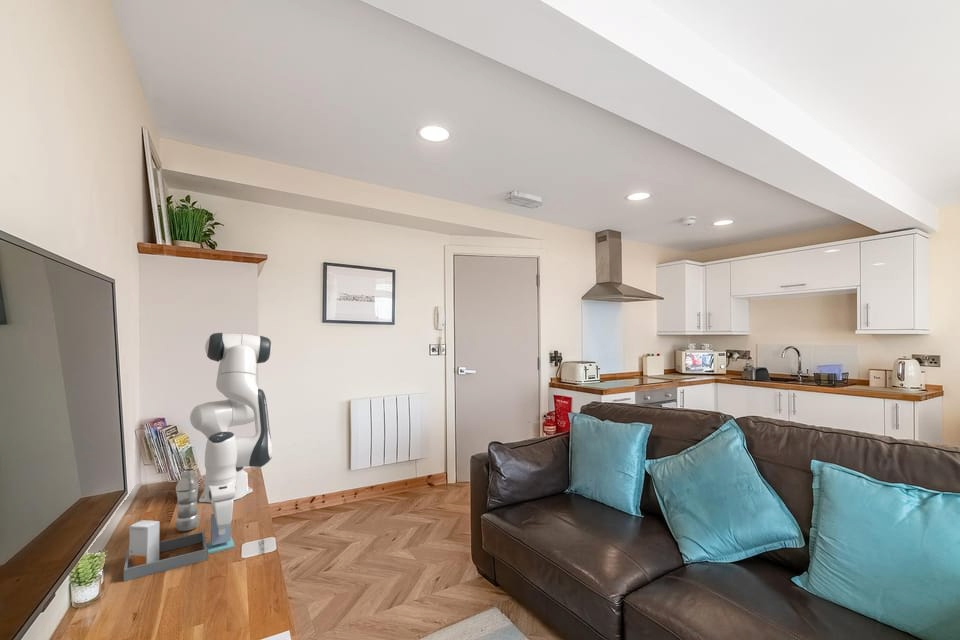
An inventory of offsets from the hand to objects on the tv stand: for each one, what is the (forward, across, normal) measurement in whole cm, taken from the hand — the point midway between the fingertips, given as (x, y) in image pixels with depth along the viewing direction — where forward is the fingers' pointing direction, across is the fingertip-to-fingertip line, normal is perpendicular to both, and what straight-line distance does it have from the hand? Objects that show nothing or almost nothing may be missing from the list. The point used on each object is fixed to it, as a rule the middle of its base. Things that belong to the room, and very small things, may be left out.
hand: (220, 530), depth 138 cm
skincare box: (+5, 0, -19) cm, 20 cm away
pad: (+5, 0, 0) cm, 5 cm away
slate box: (+3, 0, 0) cm, 3 cm away
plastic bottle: (+5, -20, -8) cm, 22 cm away
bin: (+5, 0, -14) cm, 14 cm away
